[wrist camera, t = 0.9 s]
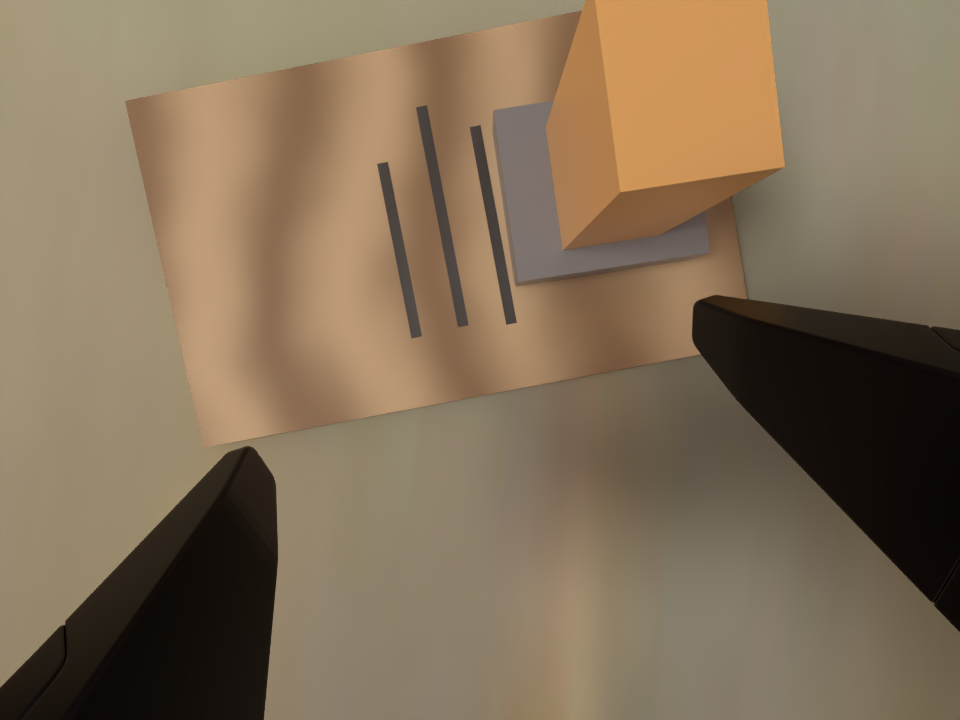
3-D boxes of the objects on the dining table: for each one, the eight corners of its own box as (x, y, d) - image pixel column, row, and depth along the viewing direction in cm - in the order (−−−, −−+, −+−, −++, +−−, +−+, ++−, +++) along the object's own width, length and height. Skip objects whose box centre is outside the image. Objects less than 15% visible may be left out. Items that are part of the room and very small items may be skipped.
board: (689, 3, 22) (699, -13, 21) (742, 344, 22) (754, 344, 22) (141, 111, 22) (125, 101, 21) (215, 442, 23) (203, 447, 22)
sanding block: (669, 103, 21) (841, -107, 11) (688, 259, 21) (872, 195, 11) (492, 131, 21) (502, -53, 11) (514, 286, 21) (543, 246, 11)
